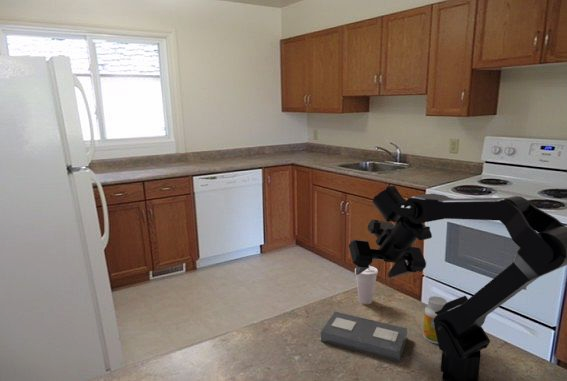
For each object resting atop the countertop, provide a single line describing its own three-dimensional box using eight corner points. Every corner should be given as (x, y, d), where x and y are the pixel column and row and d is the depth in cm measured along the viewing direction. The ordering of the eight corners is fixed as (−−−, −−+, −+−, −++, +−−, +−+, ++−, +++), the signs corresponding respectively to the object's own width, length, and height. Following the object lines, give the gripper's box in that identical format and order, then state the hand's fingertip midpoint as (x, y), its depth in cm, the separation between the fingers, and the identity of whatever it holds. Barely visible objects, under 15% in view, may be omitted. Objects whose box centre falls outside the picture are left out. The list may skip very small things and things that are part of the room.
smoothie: (374, 308, 103) (376, 260, 100) (351, 304, 106) (352, 257, 103) (378, 298, 109) (380, 252, 106) (356, 294, 111) (357, 249, 109)
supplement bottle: (422, 329, 93) (425, 293, 91) (446, 333, 91) (449, 296, 89) (423, 342, 88) (425, 303, 86) (448, 346, 86) (451, 307, 84)
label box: (406, 337, 90) (407, 327, 89) (398, 362, 81) (399, 350, 80) (334, 320, 98) (335, 310, 97) (320, 340, 89) (320, 330, 88)
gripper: (424, 215, 94) (395, 252, 104) (357, 205, 89) (333, 245, 100) (441, 251, 86) (408, 288, 96) (368, 243, 81) (341, 282, 92)
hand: (372, 274), depth 96 cm, fingers open, 9 cm apart
